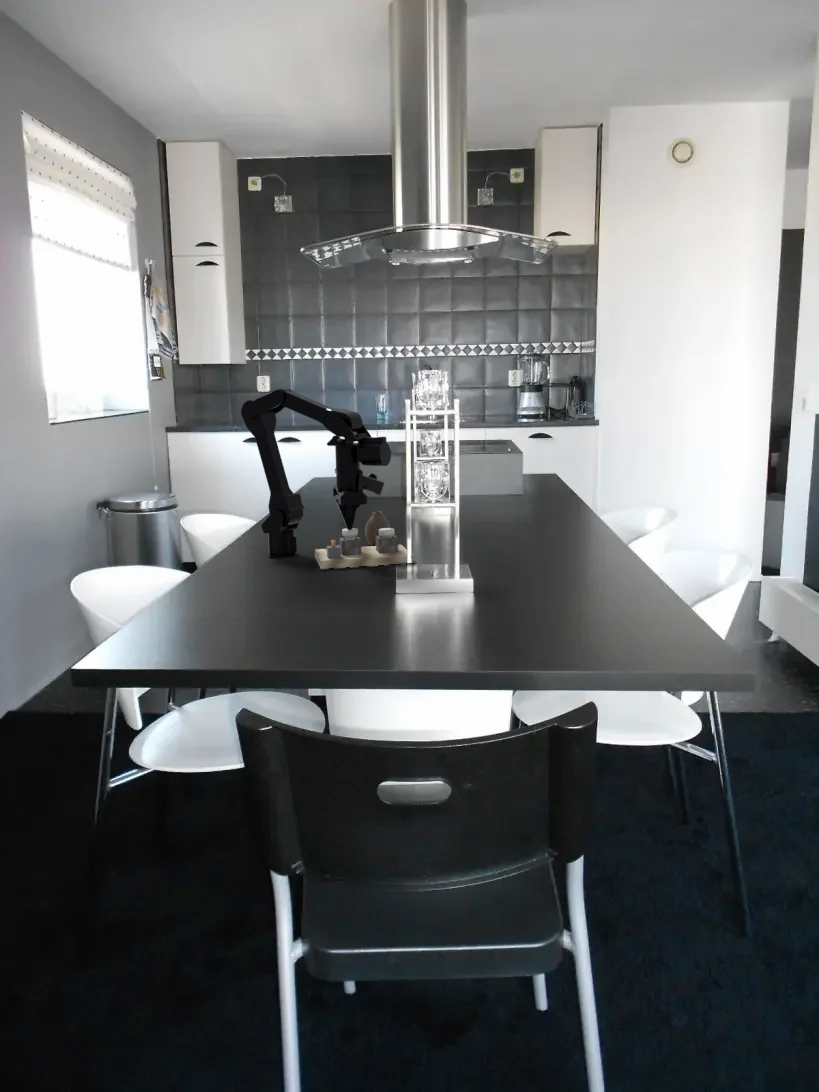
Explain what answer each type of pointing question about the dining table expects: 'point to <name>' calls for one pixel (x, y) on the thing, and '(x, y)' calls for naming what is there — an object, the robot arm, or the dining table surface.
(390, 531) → the knob
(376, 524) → the vase
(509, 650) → the dining table surface
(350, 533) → the knob
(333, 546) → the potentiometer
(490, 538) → the dining table surface
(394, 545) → the mount board
